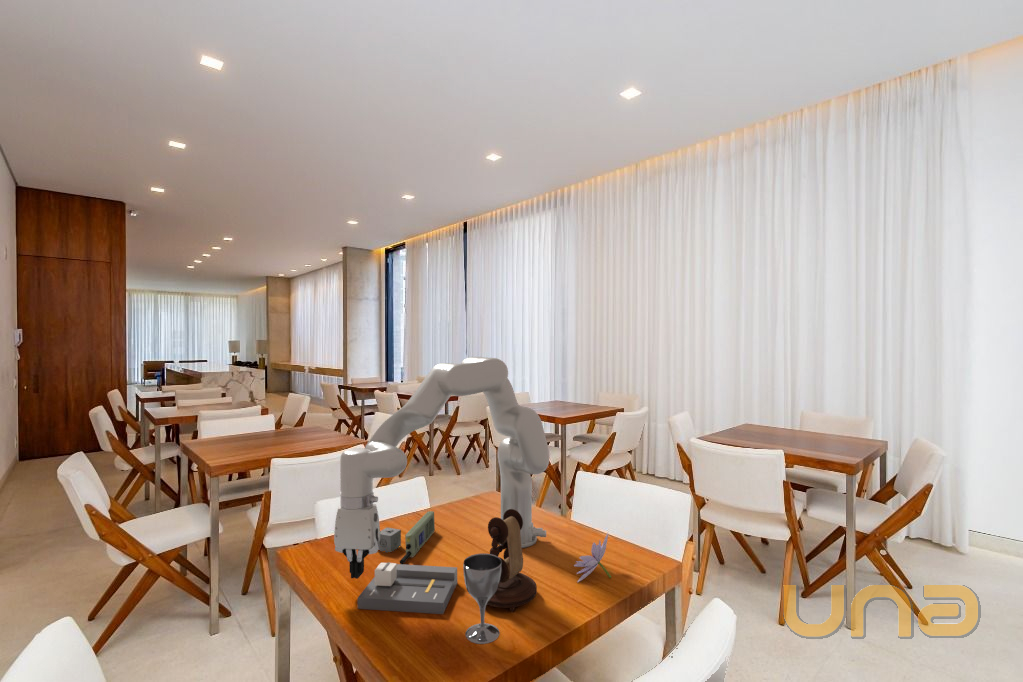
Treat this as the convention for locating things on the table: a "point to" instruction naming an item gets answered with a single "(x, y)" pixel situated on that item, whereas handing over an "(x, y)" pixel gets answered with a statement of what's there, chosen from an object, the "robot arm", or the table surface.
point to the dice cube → (389, 539)
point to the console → (412, 590)
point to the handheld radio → (419, 535)
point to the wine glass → (482, 592)
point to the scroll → (510, 562)
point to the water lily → (593, 559)
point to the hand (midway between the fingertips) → (356, 575)
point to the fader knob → (385, 574)
